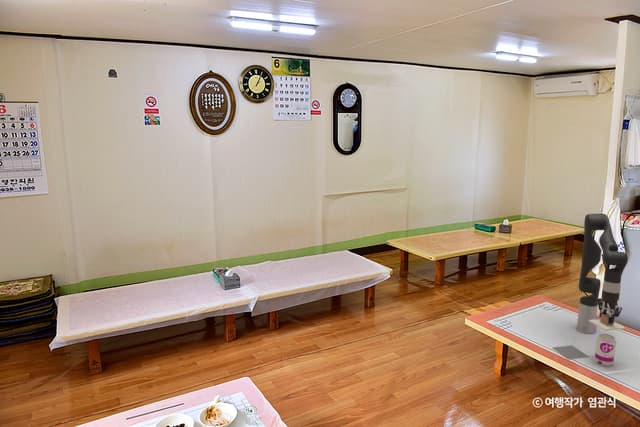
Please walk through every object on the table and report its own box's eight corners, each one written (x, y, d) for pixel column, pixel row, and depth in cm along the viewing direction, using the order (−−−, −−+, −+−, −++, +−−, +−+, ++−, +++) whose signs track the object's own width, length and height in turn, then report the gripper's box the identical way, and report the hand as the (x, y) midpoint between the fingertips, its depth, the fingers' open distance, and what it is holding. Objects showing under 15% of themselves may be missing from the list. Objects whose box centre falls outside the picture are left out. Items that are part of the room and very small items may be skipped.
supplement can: (613, 369, 227) (616, 342, 224) (594, 364, 231) (597, 338, 228) (612, 362, 234) (616, 335, 231) (594, 357, 238) (597, 331, 235)
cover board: (607, 319, 235) (608, 310, 234) (624, 329, 224) (626, 319, 223) (589, 321, 233) (590, 311, 232) (605, 330, 222) (606, 320, 221)
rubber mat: (572, 347, 250) (572, 345, 249) (589, 358, 237) (589, 357, 237) (551, 349, 247) (551, 347, 247) (567, 361, 235) (568, 359, 235)
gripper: (629, 294, 218) (625, 327, 222) (606, 284, 232) (603, 315, 235) (615, 295, 217) (611, 328, 221) (593, 285, 231) (590, 316, 234)
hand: (607, 321), depth 228 cm, fingers closed on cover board, 4 cm apart
